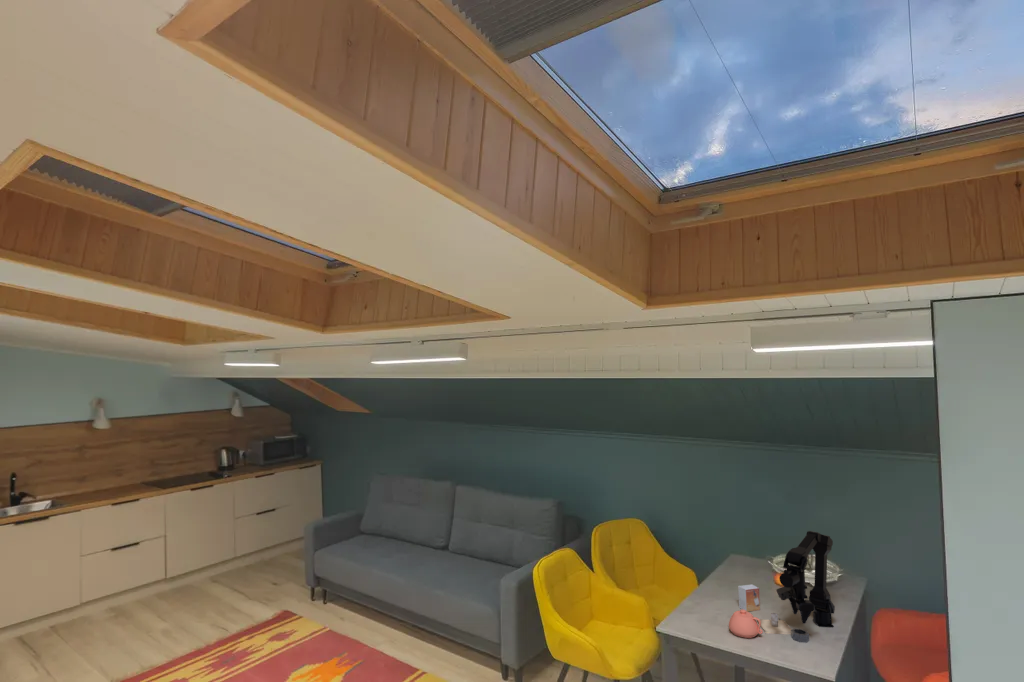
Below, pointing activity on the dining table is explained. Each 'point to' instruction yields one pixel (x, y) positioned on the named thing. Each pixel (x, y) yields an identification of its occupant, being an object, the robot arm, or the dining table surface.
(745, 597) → the small box
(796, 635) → the ring
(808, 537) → the robot arm
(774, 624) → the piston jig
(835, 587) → the dining table surface
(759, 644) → the dining table surface
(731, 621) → the sugar bowl
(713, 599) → the dining table surface
